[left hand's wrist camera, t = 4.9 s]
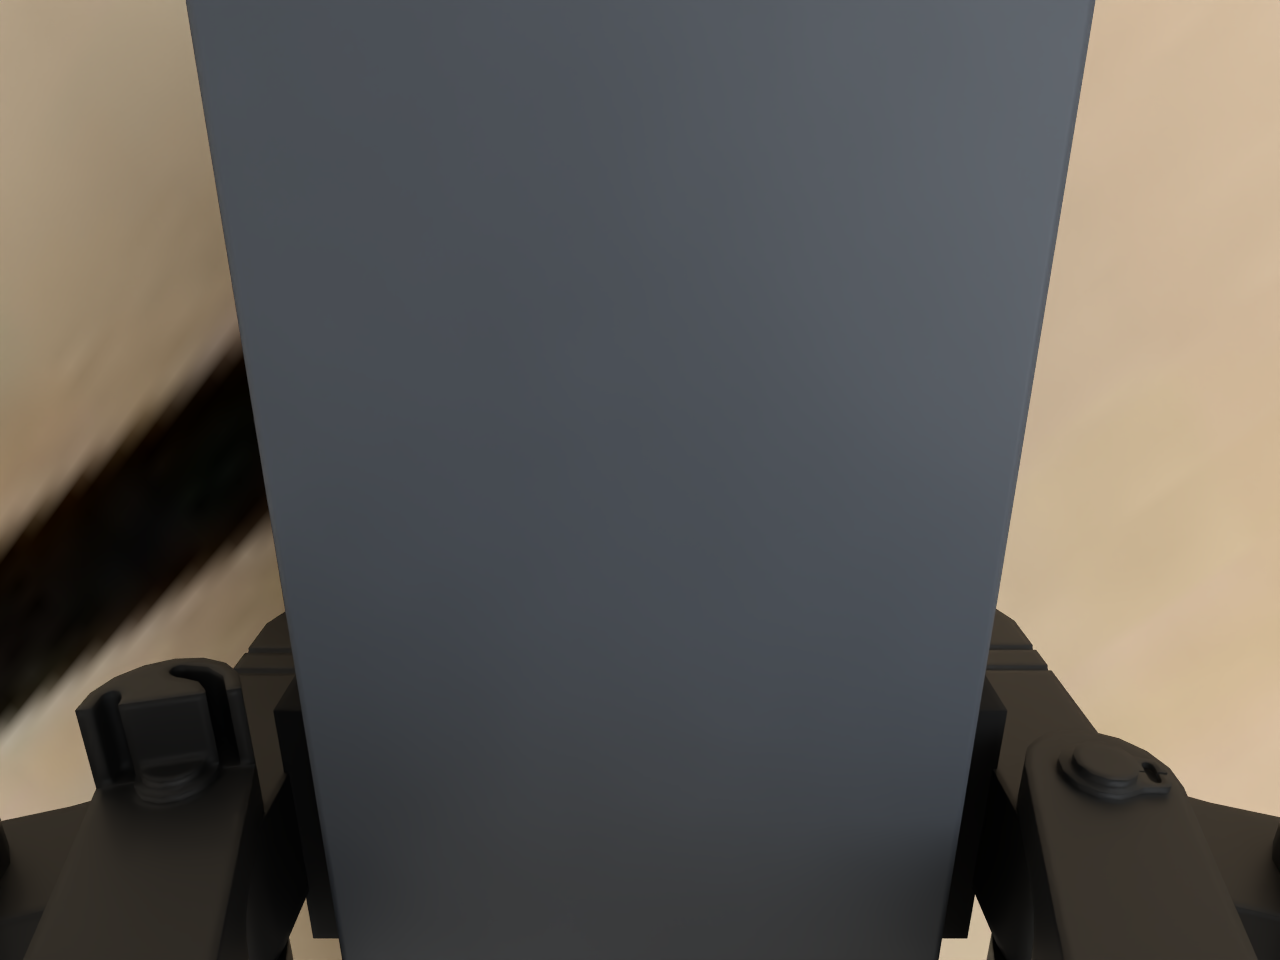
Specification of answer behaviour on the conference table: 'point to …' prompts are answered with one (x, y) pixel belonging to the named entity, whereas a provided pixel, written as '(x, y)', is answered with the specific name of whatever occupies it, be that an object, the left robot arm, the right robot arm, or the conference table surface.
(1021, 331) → the beam
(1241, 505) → the conference table surface
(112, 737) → the left robot arm
